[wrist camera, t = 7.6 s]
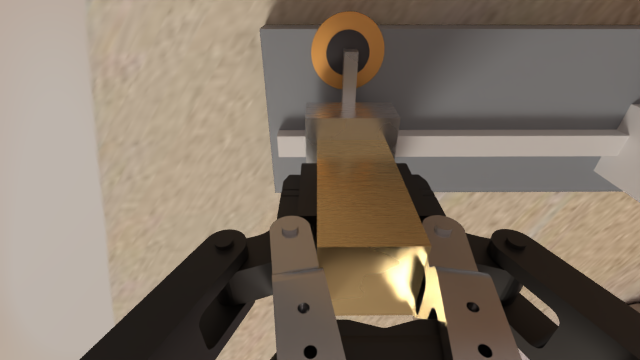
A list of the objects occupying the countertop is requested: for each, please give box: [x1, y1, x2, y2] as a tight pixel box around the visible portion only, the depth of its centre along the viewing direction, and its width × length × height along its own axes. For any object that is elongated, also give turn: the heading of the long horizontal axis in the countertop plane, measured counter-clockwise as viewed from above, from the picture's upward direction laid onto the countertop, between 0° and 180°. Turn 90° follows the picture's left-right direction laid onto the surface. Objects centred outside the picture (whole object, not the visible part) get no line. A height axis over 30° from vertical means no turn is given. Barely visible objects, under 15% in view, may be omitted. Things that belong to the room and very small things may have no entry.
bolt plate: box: [260, 11, 640, 202], centre depth 14 cm, size 22×10×8 cm, turn 90°
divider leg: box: [305, 49, 432, 316], centre depth 12 cm, size 4×7×9 cm, turn 0°
